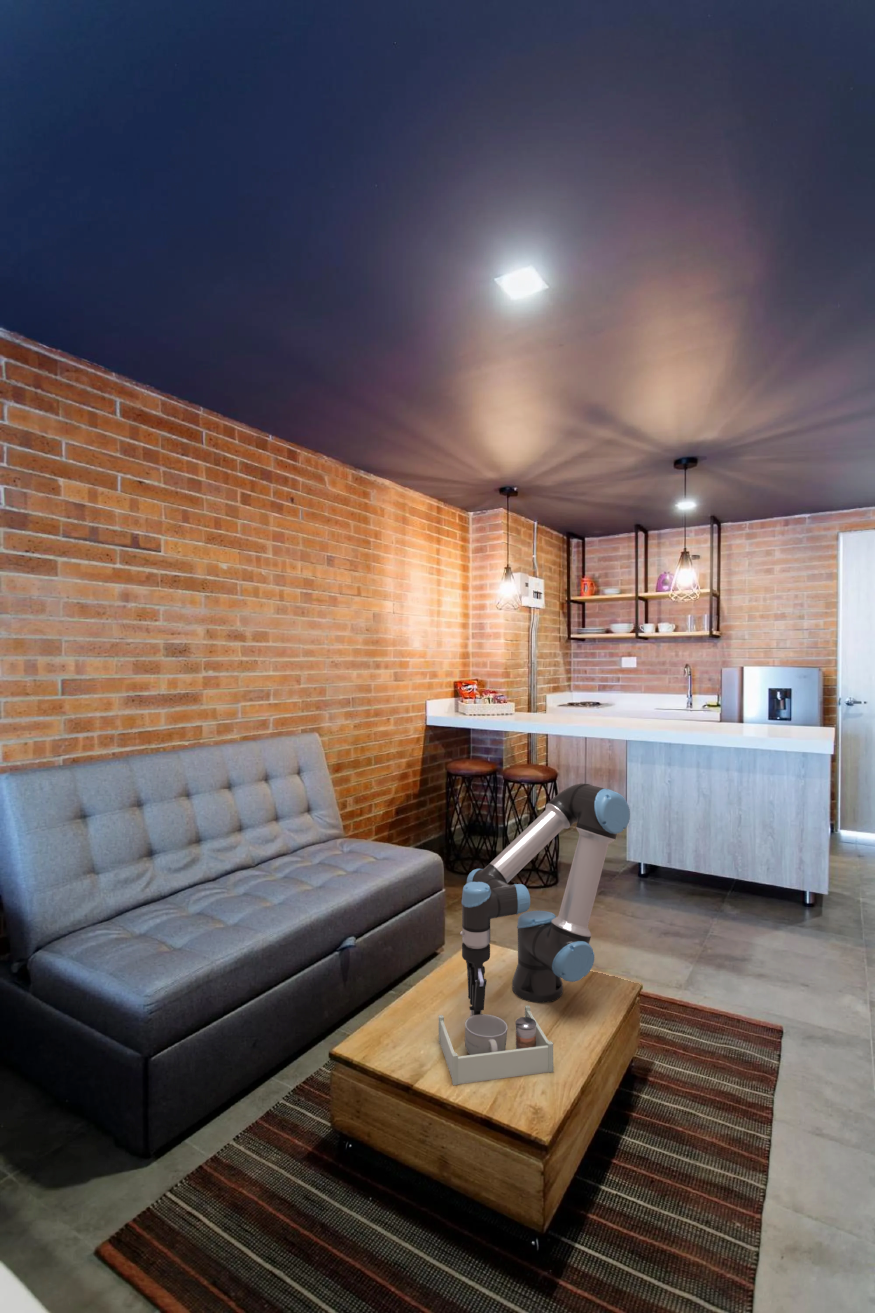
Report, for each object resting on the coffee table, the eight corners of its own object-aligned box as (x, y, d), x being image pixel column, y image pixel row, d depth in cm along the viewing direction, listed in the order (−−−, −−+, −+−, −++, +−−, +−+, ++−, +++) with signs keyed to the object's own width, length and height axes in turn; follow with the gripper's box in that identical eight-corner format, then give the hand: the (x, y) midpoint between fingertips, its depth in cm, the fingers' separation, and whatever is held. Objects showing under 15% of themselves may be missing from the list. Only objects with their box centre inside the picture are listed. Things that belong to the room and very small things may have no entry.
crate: (529, 1030, 174) (528, 1005, 174) (553, 1072, 156) (553, 1044, 156) (438, 1041, 169) (438, 1015, 169) (453, 1085, 151) (452, 1056, 151)
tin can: (532, 1047, 166) (532, 1016, 166) (539, 1059, 161) (538, 1027, 161) (513, 1050, 165) (512, 1018, 165) (519, 1062, 160) (519, 1029, 160)
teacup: (464, 1043, 168) (464, 1012, 168) (505, 1043, 168) (505, 1012, 168) (466, 1077, 154) (465, 1044, 154) (511, 1077, 154) (510, 1043, 154)
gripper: (457, 933, 177) (457, 1019, 177) (467, 955, 164) (467, 1047, 164) (483, 931, 178) (483, 1017, 178) (496, 952, 165) (496, 1044, 165)
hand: (475, 1031), depth 171 cm, fingers closed
